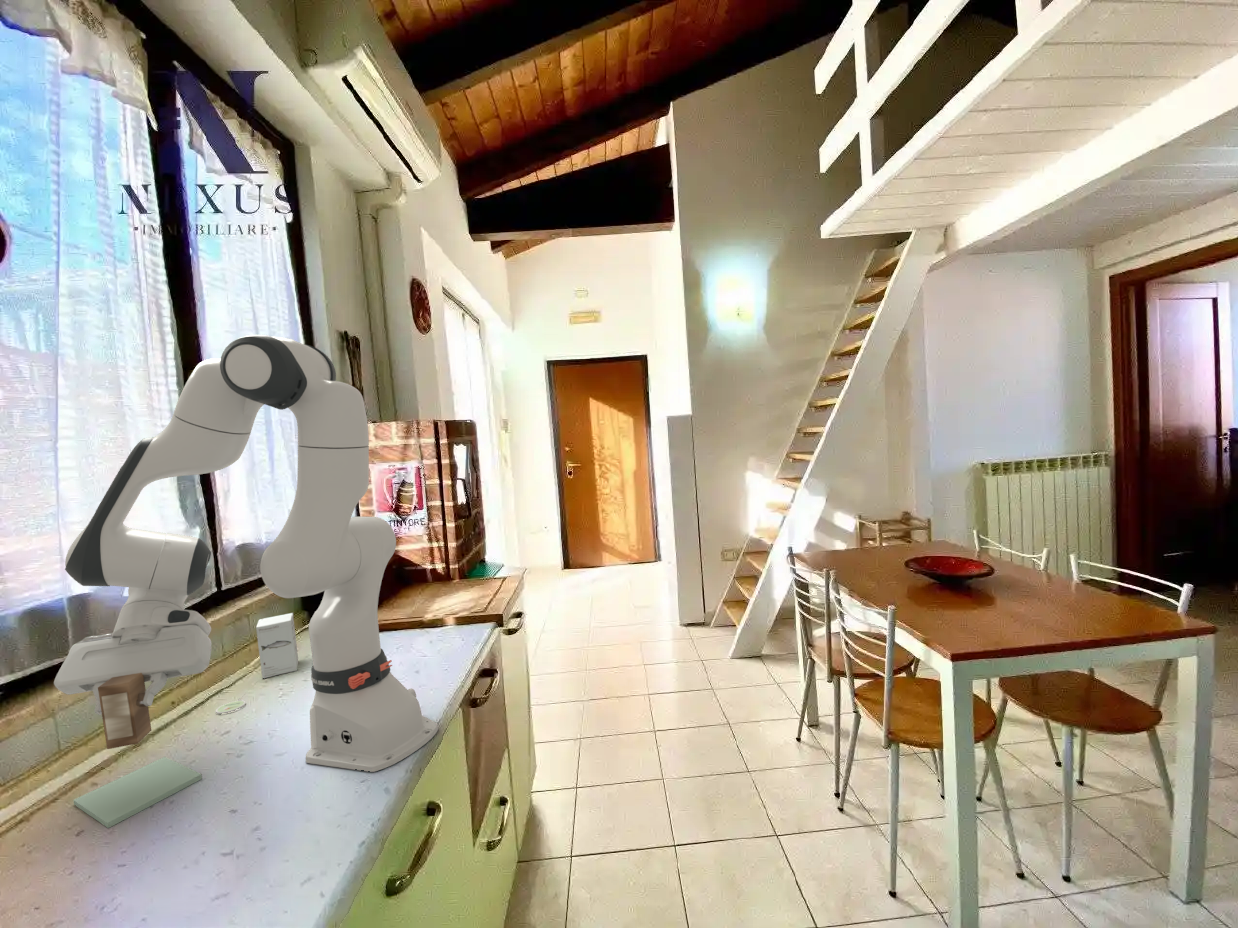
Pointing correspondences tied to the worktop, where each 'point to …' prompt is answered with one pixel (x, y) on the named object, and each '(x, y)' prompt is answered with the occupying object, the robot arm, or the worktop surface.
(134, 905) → the worktop surface
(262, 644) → the supplement box
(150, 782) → the rubber mat
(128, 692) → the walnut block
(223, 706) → the sign
